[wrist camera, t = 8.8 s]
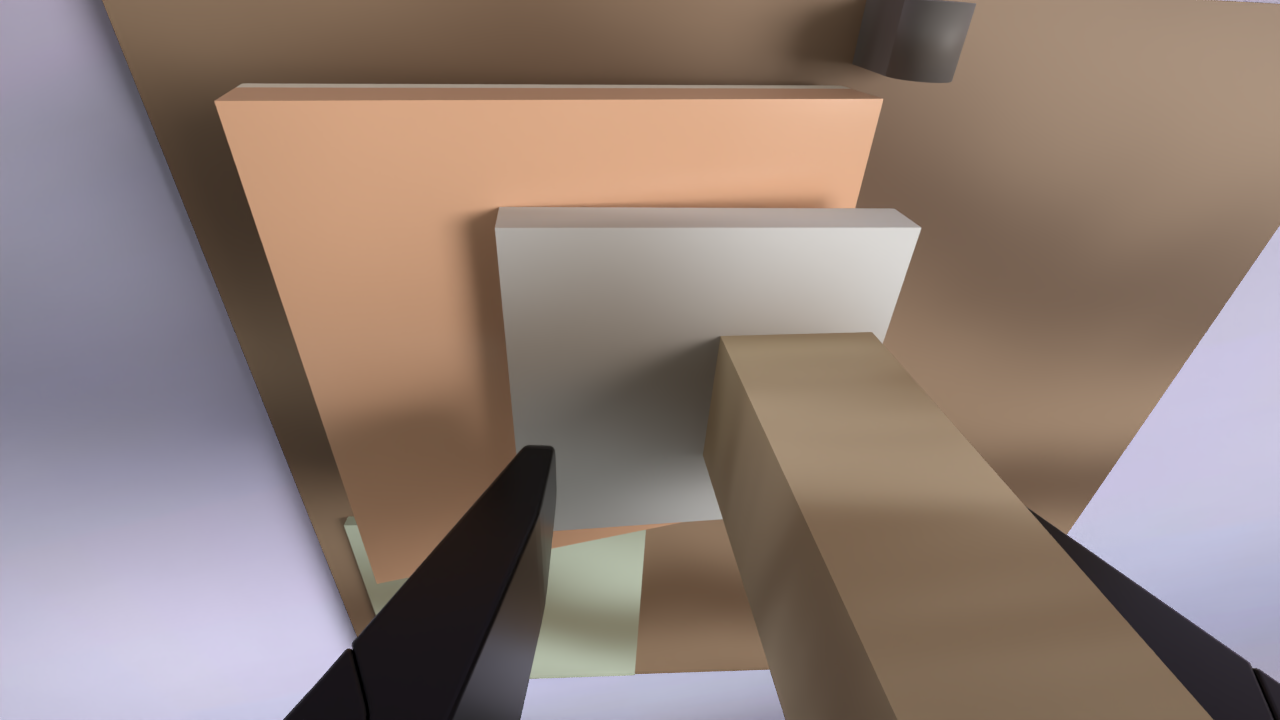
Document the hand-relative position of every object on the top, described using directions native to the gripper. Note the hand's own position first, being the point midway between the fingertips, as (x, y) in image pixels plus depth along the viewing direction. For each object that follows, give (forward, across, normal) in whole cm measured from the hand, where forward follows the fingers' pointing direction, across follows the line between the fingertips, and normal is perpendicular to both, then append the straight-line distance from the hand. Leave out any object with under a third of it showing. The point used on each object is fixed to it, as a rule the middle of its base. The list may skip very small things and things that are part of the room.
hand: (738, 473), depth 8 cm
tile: (+2, +2, 0) cm, 3 cm away
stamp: (+2, +1, 0) cm, 2 cm away
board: (+6, -1, +5) cm, 8 cm away
